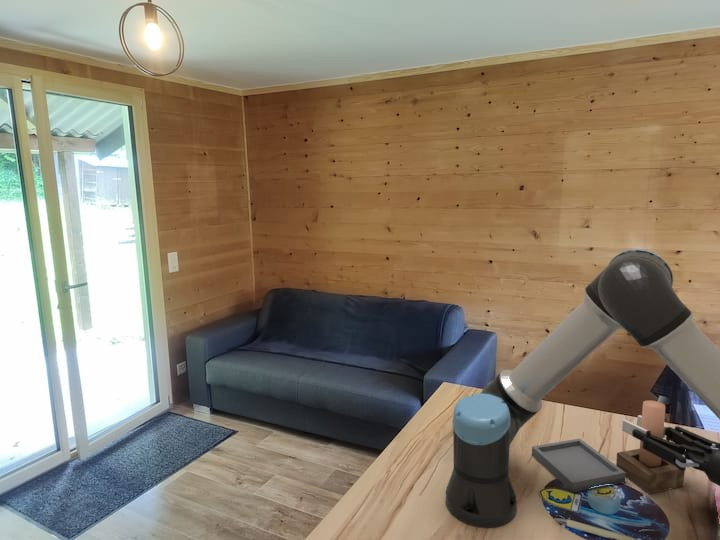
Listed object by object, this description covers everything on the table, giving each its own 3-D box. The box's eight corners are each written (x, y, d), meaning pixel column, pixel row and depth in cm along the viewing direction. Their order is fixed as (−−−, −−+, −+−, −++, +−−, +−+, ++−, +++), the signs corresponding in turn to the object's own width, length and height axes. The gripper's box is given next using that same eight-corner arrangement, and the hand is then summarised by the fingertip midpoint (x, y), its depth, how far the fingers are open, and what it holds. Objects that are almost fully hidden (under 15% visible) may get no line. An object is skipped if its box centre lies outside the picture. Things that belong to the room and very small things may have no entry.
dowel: (648, 483, 110) (653, 410, 107) (633, 472, 115) (638, 401, 112) (664, 480, 111) (670, 407, 108) (649, 469, 116) (654, 399, 113)
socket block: (647, 493, 107) (649, 475, 107) (616, 469, 117) (617, 452, 116) (683, 486, 110) (684, 468, 109) (649, 463, 119) (650, 446, 118)
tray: (572, 492, 109) (572, 482, 108) (531, 455, 124) (532, 446, 124) (625, 482, 112) (625, 472, 111) (579, 447, 127) (579, 438, 127)
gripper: (707, 503, 92) (603, 445, 113) (762, 479, 99) (654, 429, 120) (711, 467, 91) (605, 416, 112) (766, 446, 97) (656, 401, 119)
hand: (631, 422), depth 116 cm, fingers closed on dowel, 4 cm apart
